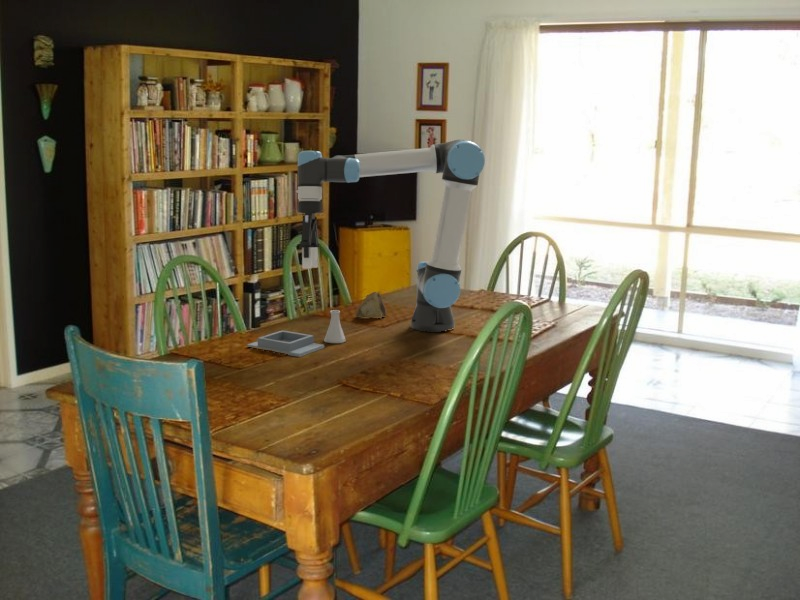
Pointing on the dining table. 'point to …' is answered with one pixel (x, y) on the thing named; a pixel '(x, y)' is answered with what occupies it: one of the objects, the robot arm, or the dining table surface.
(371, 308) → the rock
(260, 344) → the caddy board
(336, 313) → the flask
